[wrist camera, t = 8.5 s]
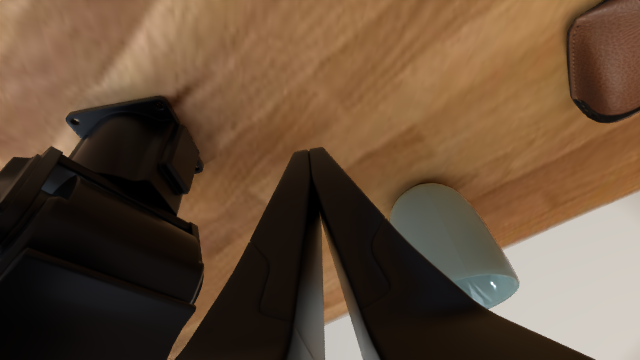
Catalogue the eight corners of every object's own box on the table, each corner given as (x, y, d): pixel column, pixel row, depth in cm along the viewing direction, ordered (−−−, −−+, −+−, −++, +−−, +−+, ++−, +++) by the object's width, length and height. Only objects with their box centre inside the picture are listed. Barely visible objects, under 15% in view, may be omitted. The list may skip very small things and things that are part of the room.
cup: (416, 159, 26) (470, 265, 19) (477, 183, 29) (542, 282, 22) (365, 214, 31) (393, 315, 24) (423, 230, 34) (462, 323, 27)
